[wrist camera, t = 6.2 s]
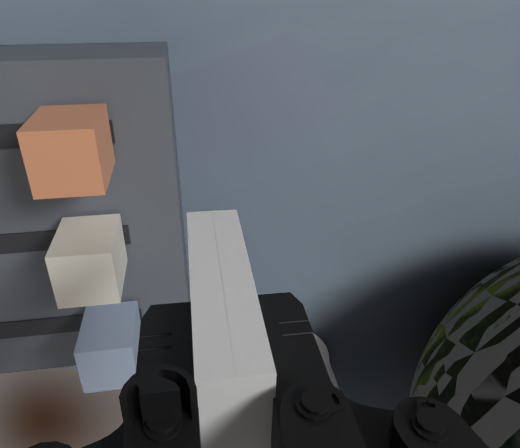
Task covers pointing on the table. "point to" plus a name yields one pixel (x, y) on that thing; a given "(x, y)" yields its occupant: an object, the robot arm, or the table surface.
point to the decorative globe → (479, 359)
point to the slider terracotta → (67, 151)
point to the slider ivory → (87, 261)
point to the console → (114, 202)
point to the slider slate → (108, 346)
